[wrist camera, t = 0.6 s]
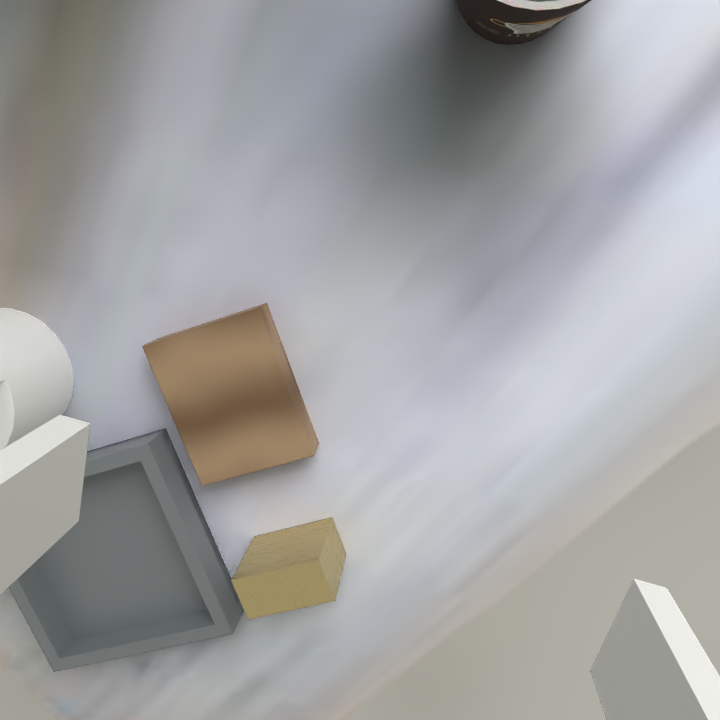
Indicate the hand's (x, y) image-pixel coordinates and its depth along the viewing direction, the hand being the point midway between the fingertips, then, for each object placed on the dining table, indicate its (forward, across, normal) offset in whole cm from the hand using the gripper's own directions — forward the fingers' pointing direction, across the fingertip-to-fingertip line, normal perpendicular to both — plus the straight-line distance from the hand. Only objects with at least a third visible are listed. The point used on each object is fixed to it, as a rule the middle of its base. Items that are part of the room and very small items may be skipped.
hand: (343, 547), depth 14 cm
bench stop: (+24, -2, -17) cm, 29 cm away
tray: (+24, -16, -22) cm, 36 cm away
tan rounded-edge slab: (+24, -9, -7) cm, 27 cm away
